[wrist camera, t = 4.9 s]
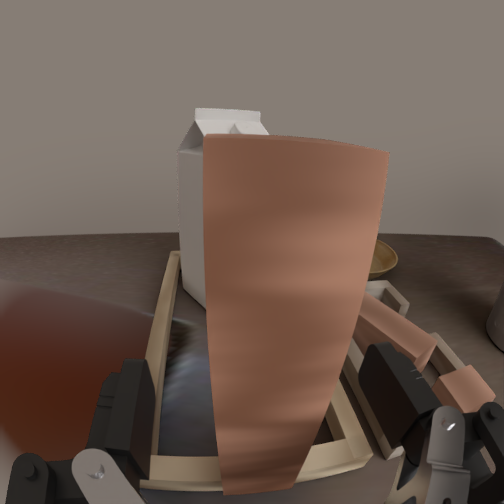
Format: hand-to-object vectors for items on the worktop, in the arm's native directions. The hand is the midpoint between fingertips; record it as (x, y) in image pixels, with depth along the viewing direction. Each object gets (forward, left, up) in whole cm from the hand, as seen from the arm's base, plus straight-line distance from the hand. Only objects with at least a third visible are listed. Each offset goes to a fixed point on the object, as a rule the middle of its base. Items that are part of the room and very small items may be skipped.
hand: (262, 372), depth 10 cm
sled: (0, -13, -9) cm, 16 cm away
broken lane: (-14, -8, -9) cm, 18 cm away
